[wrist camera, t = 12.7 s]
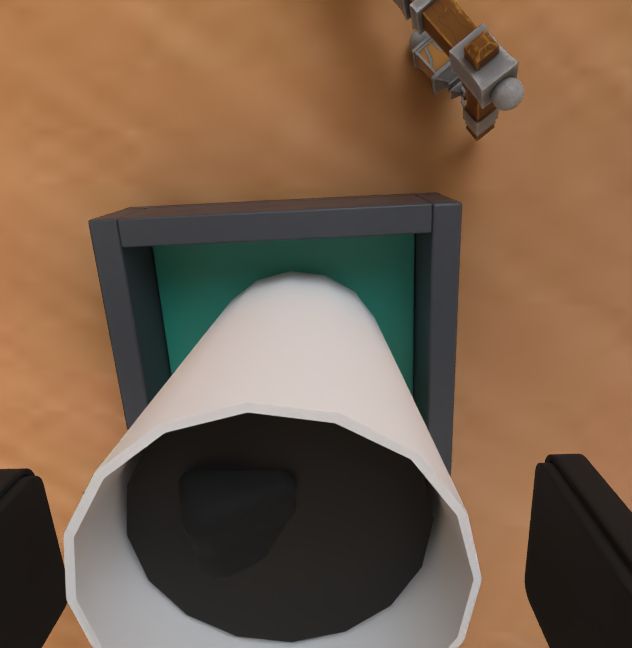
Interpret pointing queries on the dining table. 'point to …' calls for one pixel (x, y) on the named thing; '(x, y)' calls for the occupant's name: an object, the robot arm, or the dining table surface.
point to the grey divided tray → (275, 258)
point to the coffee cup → (276, 495)
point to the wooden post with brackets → (463, 61)
